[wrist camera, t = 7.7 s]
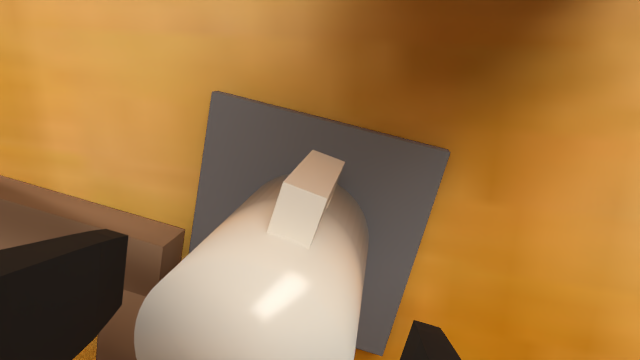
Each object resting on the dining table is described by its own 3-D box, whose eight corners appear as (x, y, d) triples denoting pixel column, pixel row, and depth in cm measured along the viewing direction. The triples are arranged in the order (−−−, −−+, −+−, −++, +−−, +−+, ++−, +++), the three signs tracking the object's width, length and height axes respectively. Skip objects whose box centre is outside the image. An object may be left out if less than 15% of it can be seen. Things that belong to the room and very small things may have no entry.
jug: (342, 311, 15) (308, 484, 9) (227, 265, 15) (117, 401, 9) (402, 169, 13) (412, 260, 7) (271, 120, 14) (170, 167, 7)
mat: (382, 347, 16) (382, 356, 15) (188, 288, 17) (182, 294, 16) (448, 149, 13) (450, 152, 13) (218, 90, 14) (212, 91, 14)
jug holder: (151, 470, 20) (131, 504, 18) (-84, 387, 21) (-121, 412, 19) (185, 229, 16) (163, 247, 14) (-106, 144, 17) (-155, 152, 16)
